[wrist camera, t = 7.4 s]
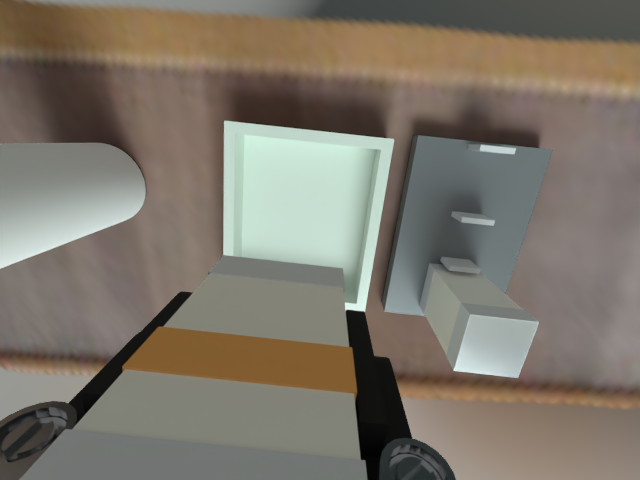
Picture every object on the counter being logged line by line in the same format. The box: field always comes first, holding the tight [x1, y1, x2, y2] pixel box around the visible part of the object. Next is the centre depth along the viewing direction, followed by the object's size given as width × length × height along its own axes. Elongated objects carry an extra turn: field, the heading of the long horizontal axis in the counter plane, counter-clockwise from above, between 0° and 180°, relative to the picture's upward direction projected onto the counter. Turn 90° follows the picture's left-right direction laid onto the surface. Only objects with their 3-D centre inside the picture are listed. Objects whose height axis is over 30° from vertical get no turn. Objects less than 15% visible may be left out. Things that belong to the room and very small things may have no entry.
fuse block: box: [382, 135, 553, 316], centre depth 25 cm, size 10×15×4 cm, turn 174°
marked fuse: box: [19, 255, 367, 480], centre depth 7 cm, size 4×4×8 cm
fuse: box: [419, 263, 539, 378], centre depth 23 cm, size 4×4×8 cm
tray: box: [223, 121, 394, 312], centre depth 25 cm, size 12×14×3 cm
